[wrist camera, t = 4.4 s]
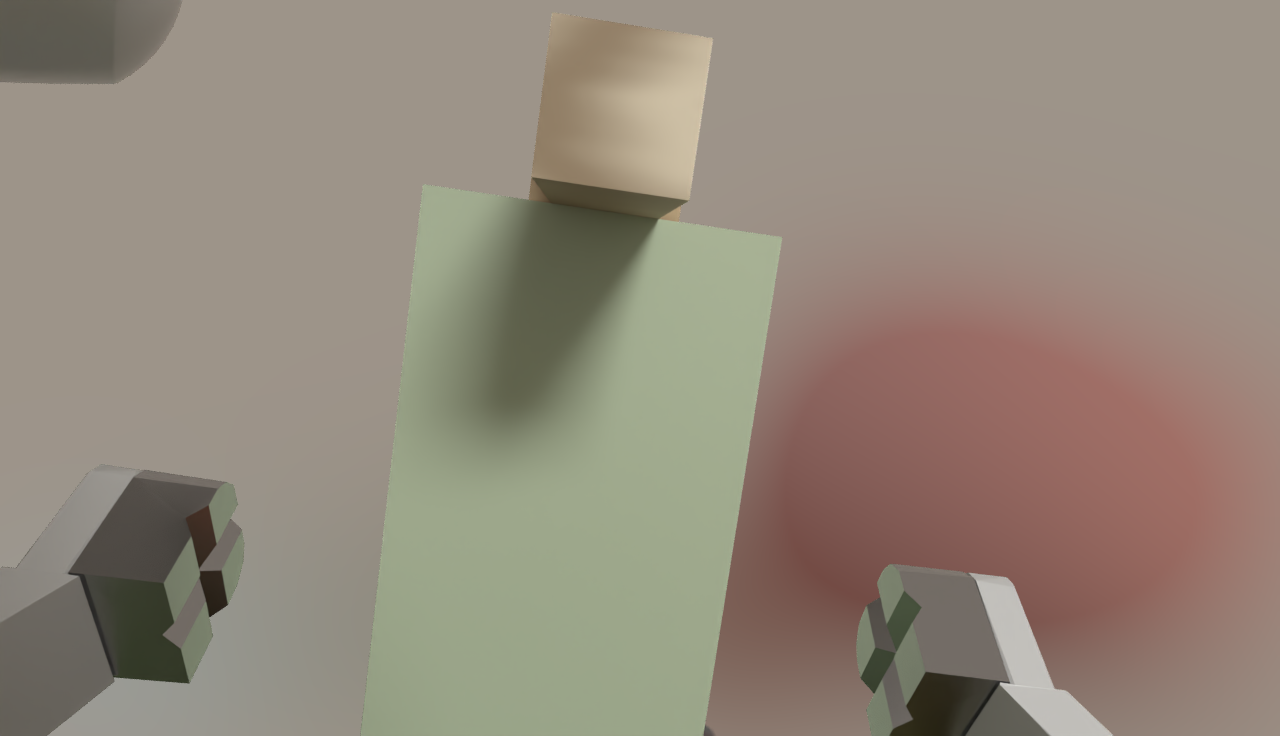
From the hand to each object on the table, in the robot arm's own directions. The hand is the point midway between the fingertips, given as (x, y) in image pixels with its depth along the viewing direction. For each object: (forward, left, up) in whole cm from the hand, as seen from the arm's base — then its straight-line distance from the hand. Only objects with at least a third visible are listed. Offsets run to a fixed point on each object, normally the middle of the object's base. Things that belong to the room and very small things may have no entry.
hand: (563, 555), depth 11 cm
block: (0, +15, +5) cm, 16 cm away
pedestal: (0, +19, -21) cm, 28 cm away
